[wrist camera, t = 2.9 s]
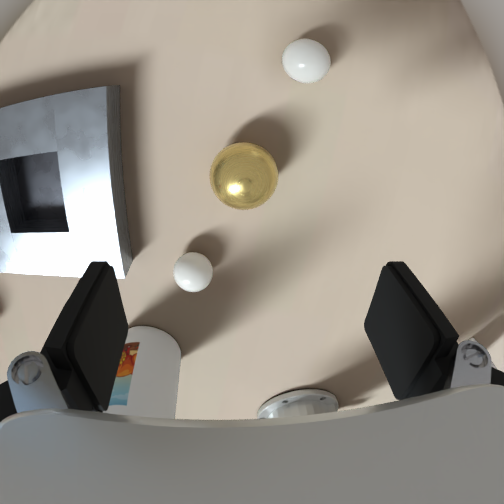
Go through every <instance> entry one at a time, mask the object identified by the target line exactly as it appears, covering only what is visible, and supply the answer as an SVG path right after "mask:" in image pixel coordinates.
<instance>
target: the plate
mask: <svg viewBox="0 0 504 504" xmlns="http://www.w3.org/2000/svg"><path fill="white" fill-rule="evenodd" d="M91 261H107V262H108V263H109V265H112V266H113V267H114V269H115V274H116V278H121V279H125V277H126V275H127V272H128V270H129V268H130V266H131V263H132V261H133V258H132V252H131V245H130V237H129V230H128V222H127V213H126V204H125V193H124V182H123V169H122V154H121V132H120V85H115V86H103V87H96V88H89V89H83V90H77V91H71V92H66V93H60V94H55V95H50V96H46V97H41V98H37V99H33V100H29V101H25V102H21V103H17V104H13V105H10V106H6V107H3V108H0V272H4V273H20V274H36V275H54V276H73V277H82V275H83V274H84V272H85V270H86V269H87V267H88V265H89V264H90V262H91Z"/></svg>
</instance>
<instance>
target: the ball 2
mask: <svg viewBox="0 0 504 504" xmlns="http://www.w3.org/2000/svg"><path fill="white" fill-rule="evenodd" d="M282 64H283V67H284V70H285V71H286V73H287V74H288V75H289V76H290V77H291V78H292V79H294V80H296V81H298V82H301V83H314V82H317V81H319V80H321V79H322V78H323V77H325V76H326V74H327V73H328V71H329V69H330V64H331V60H330V56H329V53H328V51H327V50H326V48H325V47H324V46H323V45H322V44H320V43H319V42H317V41H315V40H311V39H299V40H296V41H293V42H292V43H290V44H289V45H288V46H287V47H286V48H285V50H284V52H283V55H282Z"/></svg>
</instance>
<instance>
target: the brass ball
mask: <svg viewBox="0 0 504 504" xmlns="http://www.w3.org/2000/svg"><path fill="white" fill-rule="evenodd" d="M277 182H278V169H277V166H276V163H275V161H274V159H273V157H272V156H271V155H270V153H269V152H267V151H266V150H265V149H264V148H262V147H261V146H259V145H256V144H253V143H248V142H240V143H235V144H232V145H229V146H227V147H226V148H224V149H223V150H222V151H220V152H219V153H218V155H217V156H216V157H215V159H214V161H213V163H212V165H211V169H210V183H211V187H212V189H213V191H214V193H215V195H216V196H217V197H218V199H219V200H220V201H222V202H223V203H224V204H226V205H227V206H229V207H232V208H235V209H240V210H248V209H253V208H256V207H258V206H260V205H262V204H264V203H265V202H266V201H267V200H268V199H269V198H270V197H271V196H272V194H273V193H274V191H275V189H276V186H277Z"/></svg>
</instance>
